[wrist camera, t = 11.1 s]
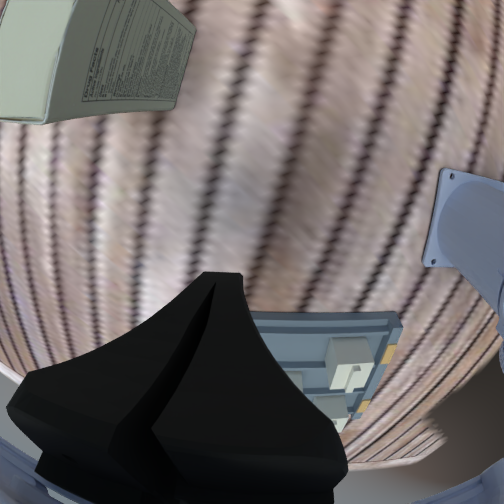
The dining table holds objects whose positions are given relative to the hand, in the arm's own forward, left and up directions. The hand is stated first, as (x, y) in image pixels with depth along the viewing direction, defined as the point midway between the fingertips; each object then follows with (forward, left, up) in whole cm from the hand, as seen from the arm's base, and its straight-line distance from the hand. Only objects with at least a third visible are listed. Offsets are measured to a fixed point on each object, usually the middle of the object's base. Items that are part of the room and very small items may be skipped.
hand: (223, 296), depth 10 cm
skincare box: (+6, -10, -11) cm, 16 cm away
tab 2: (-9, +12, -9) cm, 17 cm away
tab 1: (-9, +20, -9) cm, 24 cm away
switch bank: (-6, +16, -10) cm, 20 cm away
